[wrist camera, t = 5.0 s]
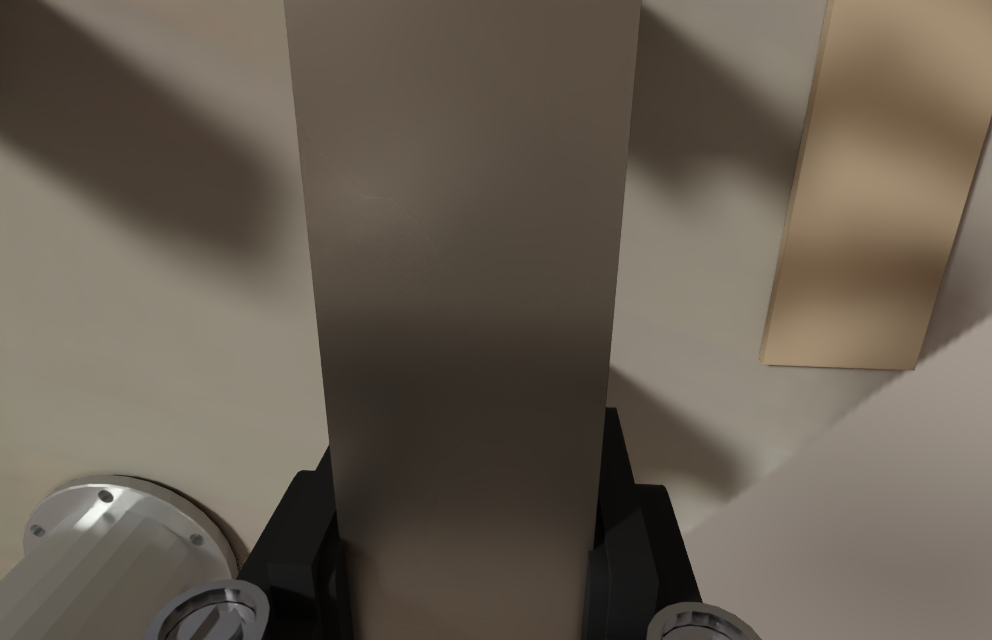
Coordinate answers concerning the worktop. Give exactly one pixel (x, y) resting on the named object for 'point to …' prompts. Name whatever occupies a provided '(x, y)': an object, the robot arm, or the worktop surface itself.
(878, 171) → the mat
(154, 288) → the worktop surface
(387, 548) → the rail
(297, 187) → the worktop surface
